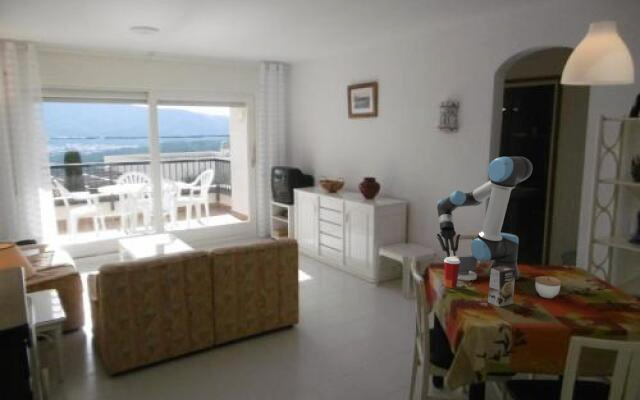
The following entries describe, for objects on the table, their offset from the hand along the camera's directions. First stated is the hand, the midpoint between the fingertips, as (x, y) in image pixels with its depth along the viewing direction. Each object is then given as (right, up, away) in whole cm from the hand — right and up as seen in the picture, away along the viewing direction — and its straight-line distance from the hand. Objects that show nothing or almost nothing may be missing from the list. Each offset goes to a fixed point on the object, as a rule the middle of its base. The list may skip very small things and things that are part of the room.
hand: (452, 262), depth 238 cm
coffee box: (+11, -13, -36) cm, 40 cm away
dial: (+5, -6, 0) cm, 8 cm away
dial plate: (+5, -7, 0) cm, 9 cm away
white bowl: (+37, -12, -26) cm, 47 cm away
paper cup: (-5, -10, -15) cm, 19 cm away
